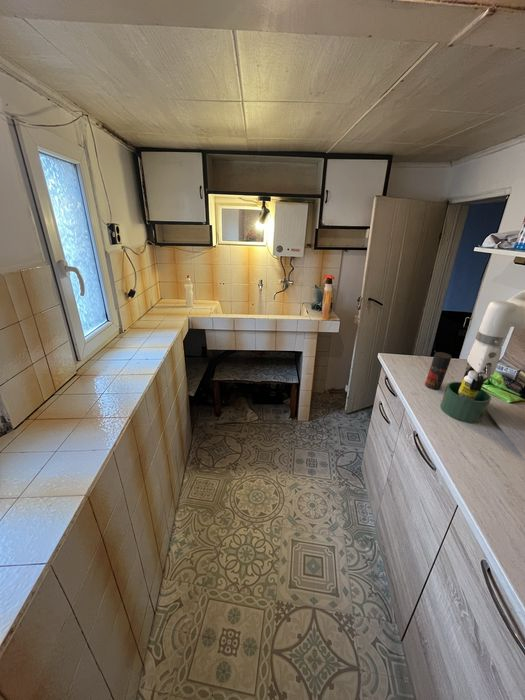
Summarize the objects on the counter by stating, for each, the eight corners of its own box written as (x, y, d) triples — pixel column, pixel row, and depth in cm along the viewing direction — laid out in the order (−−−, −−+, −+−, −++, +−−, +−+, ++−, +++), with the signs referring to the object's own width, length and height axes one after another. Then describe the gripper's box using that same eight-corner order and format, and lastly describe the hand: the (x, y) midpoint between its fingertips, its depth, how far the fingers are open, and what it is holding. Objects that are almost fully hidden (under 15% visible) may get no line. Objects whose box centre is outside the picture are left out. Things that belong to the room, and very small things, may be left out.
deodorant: (424, 381, 125) (434, 350, 119) (439, 384, 123) (450, 354, 117) (425, 387, 120) (435, 356, 114) (440, 391, 118) (452, 359, 112)
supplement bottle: (457, 397, 102) (466, 373, 98) (457, 390, 106) (466, 367, 102) (475, 402, 99) (485, 378, 95) (475, 395, 103) (484, 372, 99)
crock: (472, 404, 110) (481, 385, 106) (488, 426, 98) (498, 405, 94) (435, 398, 113) (442, 379, 109) (446, 419, 101) (454, 398, 97)
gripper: (517, 350, 85) (494, 400, 92) (490, 331, 100) (472, 375, 107) (489, 347, 86) (468, 396, 94) (467, 328, 101) (450, 372, 109)
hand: (471, 384), depth 101 cm, fingers closed on supplement bottle, 5 cm apart
